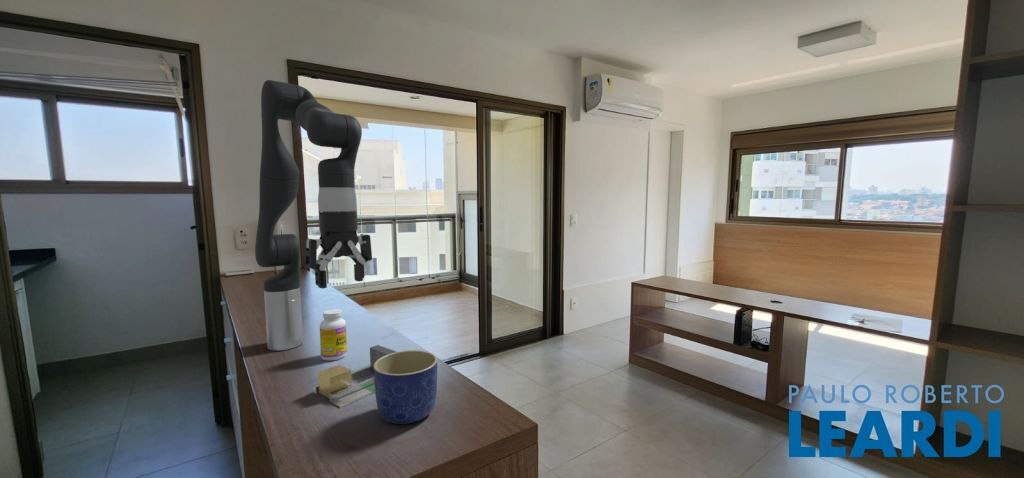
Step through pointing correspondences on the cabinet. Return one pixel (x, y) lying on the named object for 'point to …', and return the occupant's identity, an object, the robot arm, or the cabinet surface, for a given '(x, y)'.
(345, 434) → the cabinet surface
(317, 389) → the grey open frame tray
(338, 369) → the tan gold cube
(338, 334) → the supplement bottle
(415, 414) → the planter
